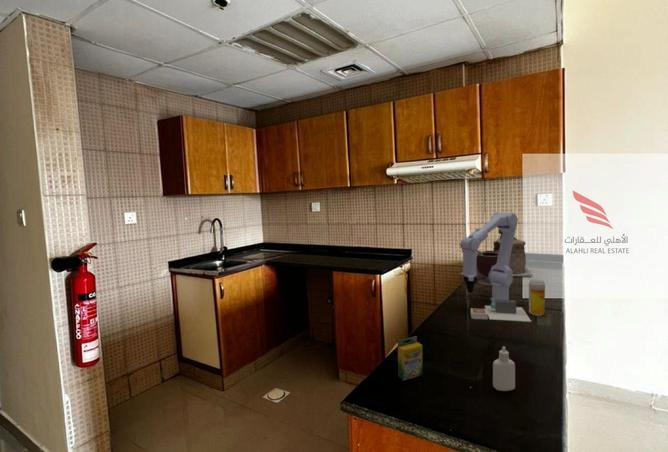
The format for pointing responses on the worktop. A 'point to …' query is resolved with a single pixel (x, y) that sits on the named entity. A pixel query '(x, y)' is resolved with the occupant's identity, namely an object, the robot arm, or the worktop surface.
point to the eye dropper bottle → (503, 372)
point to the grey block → (504, 306)
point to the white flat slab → (508, 315)
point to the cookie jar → (515, 257)
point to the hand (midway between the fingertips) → (470, 292)
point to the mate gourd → (485, 265)
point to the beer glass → (536, 297)
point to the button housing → (479, 314)
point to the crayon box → (409, 359)
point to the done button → (478, 310)
